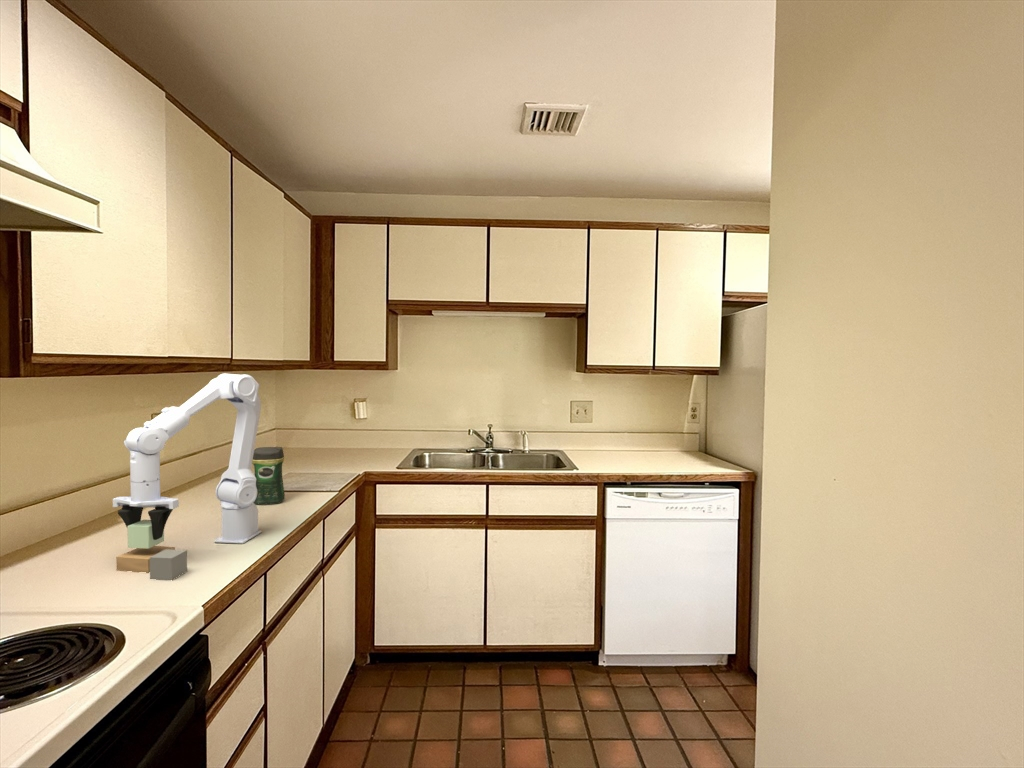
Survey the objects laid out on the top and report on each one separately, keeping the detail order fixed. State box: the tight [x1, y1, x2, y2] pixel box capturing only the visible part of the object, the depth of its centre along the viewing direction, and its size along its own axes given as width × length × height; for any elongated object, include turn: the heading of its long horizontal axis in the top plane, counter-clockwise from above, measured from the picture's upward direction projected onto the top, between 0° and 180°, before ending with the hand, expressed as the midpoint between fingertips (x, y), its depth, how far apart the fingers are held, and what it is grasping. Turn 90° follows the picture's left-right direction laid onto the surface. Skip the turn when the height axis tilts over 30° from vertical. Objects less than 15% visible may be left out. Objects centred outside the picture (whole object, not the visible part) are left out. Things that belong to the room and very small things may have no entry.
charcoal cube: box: [149, 549, 188, 581], centre depth 121 cm, size 5×5×5 cm
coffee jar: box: [252, 446, 286, 505], centre depth 183 cm, size 10×8×19 cm
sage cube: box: [126, 519, 165, 549], centre depth 127 cm, size 5×5×5 cm
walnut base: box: [116, 545, 176, 574], centre depth 127 cm, size 8×8×4 cm
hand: (146, 537), depth 127 cm, fingers closed on sage cube, 5 cm apart
